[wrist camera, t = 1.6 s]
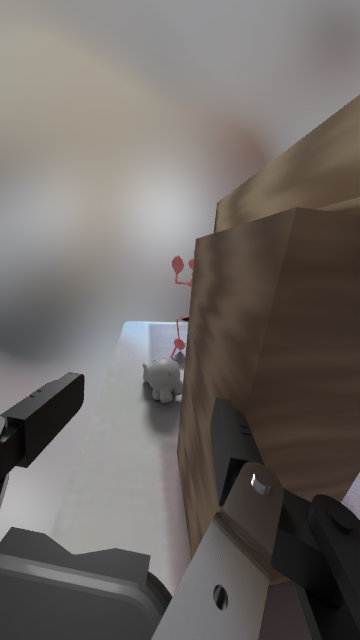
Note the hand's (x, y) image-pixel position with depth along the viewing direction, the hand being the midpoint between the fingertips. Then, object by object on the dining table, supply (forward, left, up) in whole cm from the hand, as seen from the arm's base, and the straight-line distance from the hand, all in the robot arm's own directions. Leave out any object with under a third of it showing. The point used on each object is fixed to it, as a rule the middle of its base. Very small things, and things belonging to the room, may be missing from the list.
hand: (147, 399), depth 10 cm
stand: (-6, -9, -22) cm, 25 cm away
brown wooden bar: (-8, -6, +10) cm, 14 cm away
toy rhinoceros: (+11, -24, -23) cm, 35 cm away
